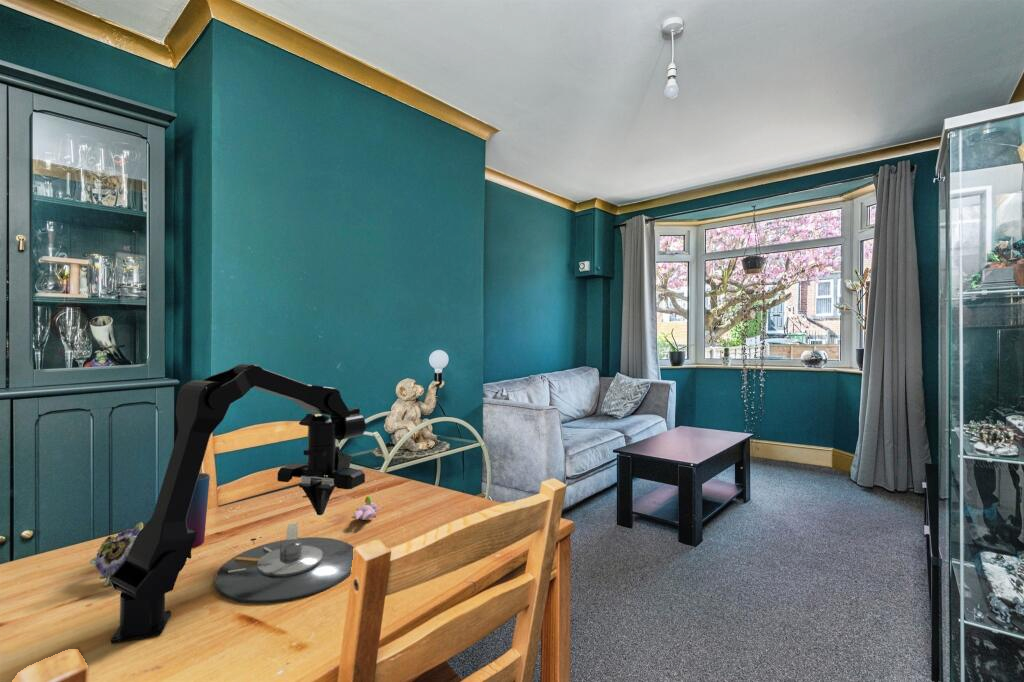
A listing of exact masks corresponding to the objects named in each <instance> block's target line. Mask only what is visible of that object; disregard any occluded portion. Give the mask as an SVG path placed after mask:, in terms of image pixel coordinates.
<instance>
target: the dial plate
mask: <svg viewBox="0 0 1024 682" xmlns="http://www.w3.org/2000/svg"><path fill="white" fill-rule="evenodd" d="M297 539H299V540H301V541H302V545H304V546H313V547H316V548H319V549H320V550H321V551H322V553H323V558H322V561H321V562H320V563H319V564H318V565H317V566H316V567H314V568H312V569H310V570H308V571H305V572H302V573H299V574H295V575H290V576H268V575H264V574H262V573H260V572H259V571H258V569H257V563H258V560H259V559H260V558H261V557H262V556H264V555H265V554H267V553H269V552H271V551H274V550H277V549H280V544H281V543H282V542H284V541H286V539H283V540H277V541H274V542H273V541H272V542H269V543H266V544H261V545H259V546H256V547H253V548H250V549H248V550H245V551H243V552H241V553H239V554H237V555H235V556H234V557H232V558H230V559H229V560H228V561H226V562H225V563H223V565H221V567H220V568H219V569H218V570H217V572H216V574H215V577H214V578H215V588H216V591H217V592H218V593H219V594H220V595H221V596H223V597H225V598H226V599H229V600H232V601H235V602H240V603H245V604H246V603H247V604H270V603H272V604H273V603H281V602H288V601H293V600H297V599H298V600H299V599H303V598H306V597H310V596H313V595H315V594H316V595H317V594H319V593H321V592H324V591H326V590H328V589H331V588H333V587H334V586H335V587H336V585H338V584H340V583H342V582H344V581H345V580H346V579H347V578H349V576H351V575H350V572H351V567H352V560H353V548H355V547H354V546H353V545H352V544H350V543H349V542H345V541H344V540H340V539H335V538H328V537H318V536H317V537H316V536H315V537H314V536H313V537H311V536H309V537H297Z"/></svg>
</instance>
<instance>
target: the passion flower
mask: <svg viewBox="0 0 1024 682" xmlns="http://www.w3.org/2000/svg"><path fill="white" fill-rule="evenodd" d="M144 526H145V524H144V523H143V521H141V522H138V523H137V524H136V525H135V526H134V527H133V528H132V529H131V528H130V527H129V528H128V529H126V530H121V532H118V533H117V535H116V536H115V535H113V536H111V535H108V536H107V538H106V539H105V540H104V541H103V542H102V543H101V544H100V547H99V549H97V550H96V552H97V553H96V557H94V558H92V559H91V560H89V564H91V565H95V567H96V569H97V570H98V571H99V572H100V576H99V579H100V580H103V579H105V581H104V583H103V585H102V586H103V587H105V586H106V587H109V586H110V585H111V583H110V581H109V578H110V577H111V575H112V574H113V573H114V572H115V571H116V570H117V569H118V567H119V566H120V565H121V564H122V563H123V562H124V561H125V559H126V558H127V557H128V554H129V551H130V549H131V547H132V545H133V543H134V541H135V539H136V537H137V535H138V533H139V532H140V531H141V530H142V528H143V527H144Z"/></svg>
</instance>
